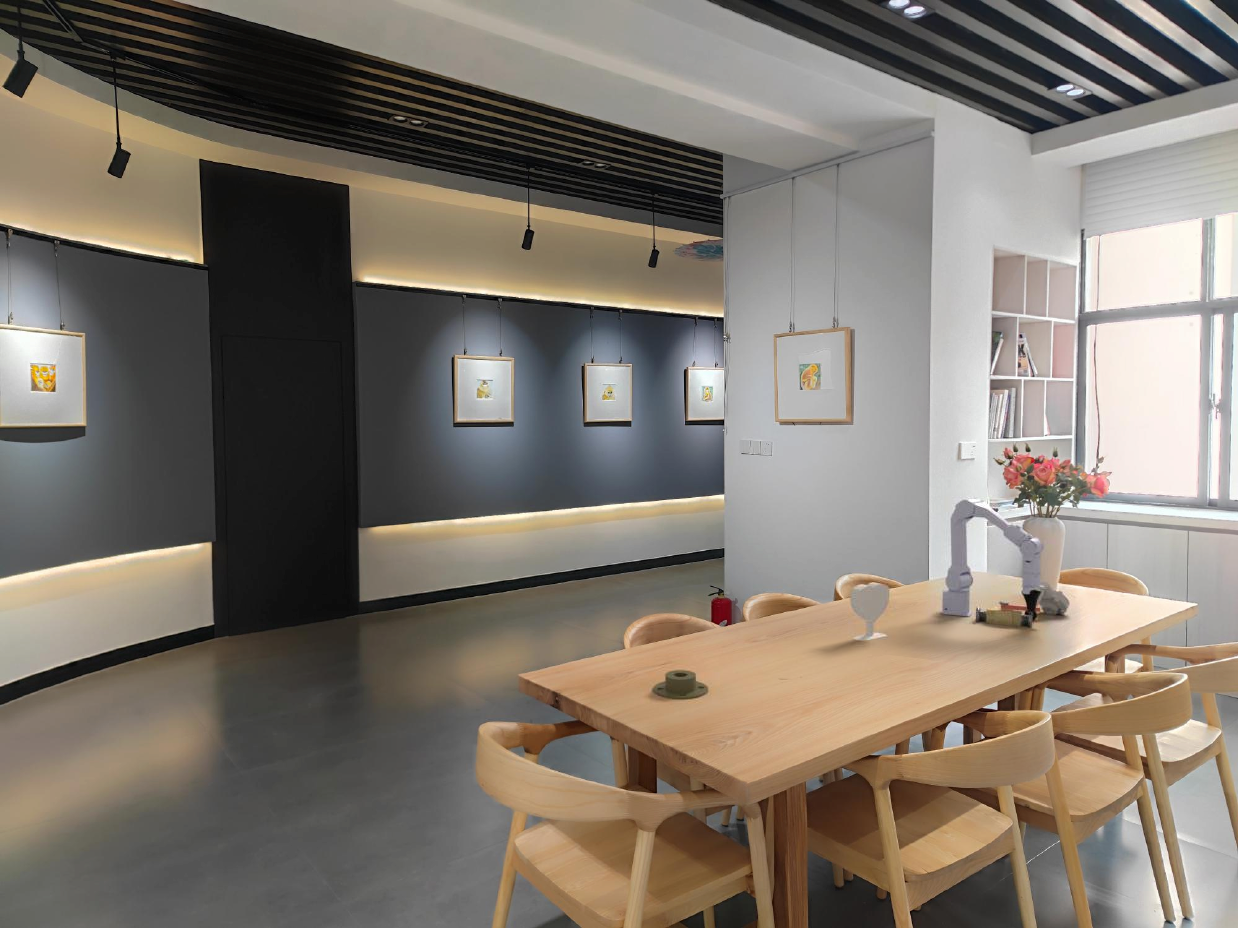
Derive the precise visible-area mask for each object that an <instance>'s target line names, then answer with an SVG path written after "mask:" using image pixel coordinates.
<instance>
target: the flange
mask: <svg viewBox="0 0 1238 928" xmlns="http://www.w3.org/2000/svg"><path fill="white" fill-rule="evenodd" d="M664 677H665V680H664V681H661V682H658V683H656V684H655V685H654V686H653V693H654V694H656V695H658V696H660V697H662V698H667V699H673V700H691V699H697V698H700V697H703V696H706V695H707V694H708V692H709V687H708V686H707V684H705V683H703V682H700V681H697V674H696V672H693V671H690V670H686V669H685V670H684V669H675V670H674V669H673V670H670V671H667V672H666V673H665V674H664Z"/></svg>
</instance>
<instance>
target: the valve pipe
mask: <svg viewBox="0 0 1238 928" xmlns="http://www.w3.org/2000/svg"><path fill="white" fill-rule="evenodd" d="M1022 613H1023V611H1022V610H1010V609H1001V606H994V607H993V606H987V608H986V610H985V611H984V610H981V607H979V606H977V607H976V609H975V622H976V623H980V622H986V623H987V624H993V625H1001V626H1016V627H1021V626H1028V628H1032V627H1033V623H1034V622H1033V621H1034V620H1033V613H1032V612H1029V615H1024V614H1022Z"/></svg>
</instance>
